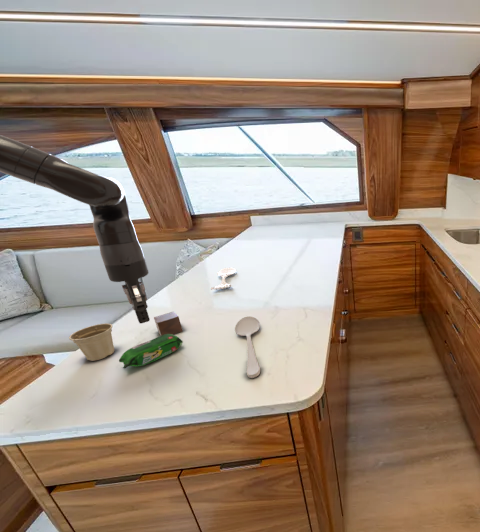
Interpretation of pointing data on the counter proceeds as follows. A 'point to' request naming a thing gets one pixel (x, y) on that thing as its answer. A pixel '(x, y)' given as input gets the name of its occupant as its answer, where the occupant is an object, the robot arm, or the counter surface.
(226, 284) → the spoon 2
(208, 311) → the counter surface
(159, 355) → the snack package
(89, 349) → the flower pot
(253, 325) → the spoon
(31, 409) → the counter surface
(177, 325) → the walnut block
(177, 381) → the counter surface
